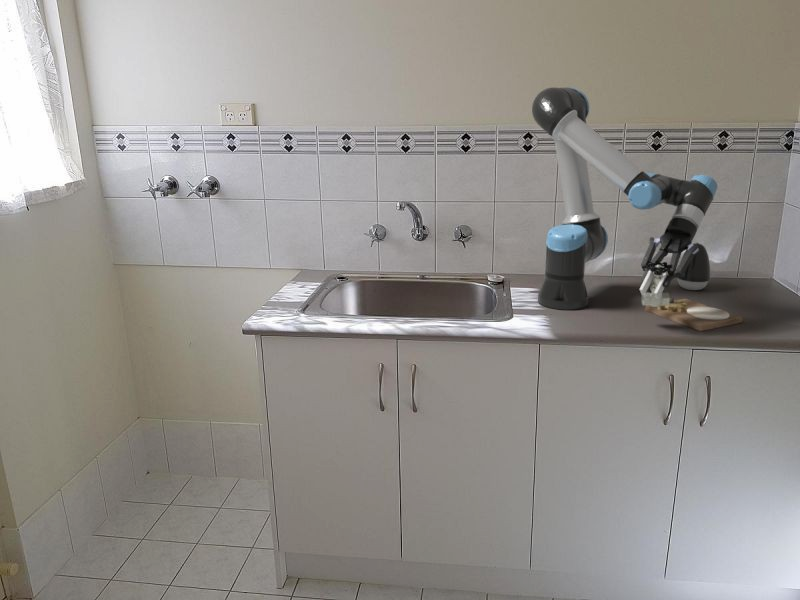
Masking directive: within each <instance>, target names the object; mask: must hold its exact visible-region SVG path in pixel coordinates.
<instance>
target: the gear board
mask: <svg viewBox="0 0 800 600" xmlns="http://www.w3.org/2000/svg"><path fill="white" fill-rule="evenodd" d="M644 308H645V309H644V311H645V312H648V313H650V314H653V315H656V316H660V317H662V318H664V319H666V320H669V321H673V322H675V323H678V324H680V325H683V326H686V327H689V328H690V329H693V330H696V331H699V332H702V331H707V330H712V329H717V328H723V327H726V326H732V325H736V324H741V323H743V319H744V318H743V317H744V316H743V317H742V316H740V315H736V314H733V313H730V312H728V311H726V310H723V309H720V308H716V307H712V306H709V305H707V304H704V303H700V302H697V301H694V300H691V299H688V298H681V299H676V300H675V298H673V297H669V305H668V306H661V305H660V306H658V307H653V306H650V305H645V307H644Z"/></svg>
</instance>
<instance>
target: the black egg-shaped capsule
mask: <svg viewBox="0 0 800 600" xmlns="http://www.w3.org/2000/svg"><path fill="white" fill-rule="evenodd" d="M692 244H693V245H697V246H698V250H699V252H698V253H697V254H696V255H695V256H694V257H693V258H692V260H691V262H690V263H689V265H688V267H687V269H686V270H685V272H684V274H683V275H682V277H681V278H677V283H678V285H679V286H680V287H681V288H682V289H685V290H688V291H700V290H703V289H705V288H706V286H707V285H708V283H709V281H710V280H711V262H710V257H709V254H708V250H707V249H706V247H705V246H704V245H703V244H702V243H699V242H695V243H692ZM687 251H688V249H686V250H685V251H684V253H683V255H682V257H681V258H680V260H679V263H680V262H681V261H682V259H683V257H684V255H685V254H686V252H687Z"/></svg>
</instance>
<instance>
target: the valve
mask: <svg viewBox="0 0 800 600" xmlns="http://www.w3.org/2000/svg"><path fill="white" fill-rule="evenodd" d="M671 267H672V265H670V264H668V262H667V261H663V262H661V263H659V261H656V262H655V263H652V262H648V264H647V265H646V269H648V268H650V271H651V272H653V274H654V277H653V280H652V281H653V284H651V286H650V291H651V292H646V293H645V295H642V294H641V305H642V306H646V305H650V306H653V307H658V306H660V305H661V306H668V305H669V298H670V294H669V292H662V294H661V296H660V298H659V299H658V298H656V297H655V294H654V292H655V290H656V288H657V286H658V284H659V282H660V280H661V278H662V276H663V274H664V273H667V272H670V268H671ZM660 276H661V277H660Z"/></svg>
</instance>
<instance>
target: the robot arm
mask: <svg viewBox="0 0 800 600" xmlns="http://www.w3.org/2000/svg"><path fill="white" fill-rule="evenodd" d="M589 113H590V102H589V99H588V97H587V96H586V94H584V92H582V91H581V90H579V89H577V88H574V87H570V86H568V87H548V88H545V89H543V90H542V91H540V92H539V93H538V94H537V95H536V97H535V98H534V100H533V103H532V106H531V114H532V117H533V120H534V121H535V123H536V124H537V125H538V126H539V127H540V128H541V129H542V130H544V132H546V133H547V134H548V137H549V138H550V139H552V140H553V142H554V146H555V152H556V158H557V166H558V172H559V180H560V185H561V191H562V198H563V204H564V210H565V211H564V212H565V217H564V219H563V220H562V222H561V225H556V226H553V227H552V228H551V229H549V231H548V232H547V237H546V241H545V243H546V244H545V245H546V246H545V248H546V250H545V265H544V266H545V267H544V268H545V269H544V279H543V281H542V283H541V285H540V286H541V287H540V289H539V290H540V291H538V294H537V302H538V304H539V305H541V306H542V307H543V306H544V307H547V308H550V309H554V310H555V309H557V310H566V311H567V310H578V309H583V308H586V307H587V306H588V304H589V295H588V290H587V287H586V282H585V270H586V269H585V268H586V263H587V262H590V261H594V260H595V259H597V258H598V257H600V256H601V255H602V254H603V253H604V251H605V250H606V249H607V246H608V243H609V238H608V236H609V235H608V233H607V230H606V228H605V227H603V225H602V224H601V217H600V215H598V214H597V213H596V212H595V211H594V205H593V199H592V190H591V185H590V184H591V183H590V177H589V171H588V169H589V168H588V164H589V165H591V166H592V167H593V168H594V169H595V170H597V171H598V172H599V173H601V175H603V176H604V177H605V178H606V179H607V180H609V182H611V183H612V184H613V185H614V186H616V188H618V189H619V190H621V192H623V193H624V194H625V195H626V196H627V197H628V200H629V203H630V204H631V206H632V207H633V208H635V209H637V210H640V211H641V210H643V211H644V210H651V209H654V208H655V207H657V206H659V205H661V204H666V205H671V206H673V207H676V208H675V211H674V212H673V214H672V216H671V219H670V221H669V222H668V224H667V226H666V228H665V230H664V233H663V234H662V235H661V236H660V237H658V238H654V237H652V236H651V237H650V238H649V245H648V247H647V249H646V252H645V253H644V256H643V259H642V261H641V263H640V267H641V269H642V271H643V272H644V273H643V275H642V277H641V281H642V284H641V285H640V288H639V291H640V294H641V296H642V295H645V293H647V292H648V289H649V287H650V285H651V283H652V281H653V280H654V277H655V274H654V272H651V271H650V268H648V269H646V265H647V264H648V262H652V263H655V262H656V261H659V263H662V261H663V260H664V258H665V257H667V256H668V254H672V255H671V258H670V262H669V265H672V267H671V268H670V272H665V273H662V275H661V280H660V282H659V284H658V286H657V288H656V290H655V292H654V294H655V297H656V298H658V299H659V298H660V296H661V294H662V293H664V292H663V291H664V290H665V289H667V288H669V287H670V284H671V283H672V281H673V279H675V278H681V277H682V275H683V274H684V272H685V270H686V269H687V267H688V265H689V263H690V262H691V260H692V258H693V257H694V256H695V255H696V254H697V253H698V252H699V250H698V246H697V245H693V244H694V243H693V240H694V238H695V236H696V233H697V231H698V230H699V228H700V225H701V223H702V221H703V219H704V217H705V215H706V214H707V211H708V210H709V207H710V205H711V204H712V202H713V201H714V197H715V195H716V192H717V190H718V184H717V182H716V180H715V179H714V178H712V177H711V176H710V175H706V174H696V175H694V176H693V177H692V178H691V179H690V180H684V179H679V178H675V177H670V176H667V175H662V174H659V173H653V172H651V173H650V172H648V173H646V172H645V171H644V170H643V169H641V168H640V167H639V166H637V165H636V164H635V163H634V162H633V161H632V160H631V159H629V158H628V157H627V156H626V155H624V154H623V153H622V152H621V151H620V150H618V149H617V148H616V147H615V146H613V144H611V143H610V142H609V141H608V140H606V139H605V138H604V137H603V136H601V134H599V133H598V132H597V131H595V130H594V129H593V128H592V127H591V126H589V125H588V124H587V120H586V119H587V118H588V117H589ZM660 244H661V245H660ZM659 245H660V247H659V250H658V251H657V252H656V250H657V248H658V246H659ZM686 249H688V251H687V252H686V254H685V255H684V257H683V256H682V253H683V252H685V251H686ZM655 252H656V253H655ZM681 256H682V257H683V259H682V258H681ZM680 259H682V261H681V260H680ZM680 261H681V262H680Z"/></svg>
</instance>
